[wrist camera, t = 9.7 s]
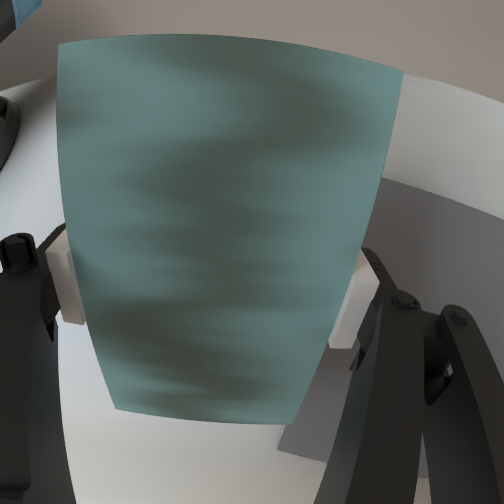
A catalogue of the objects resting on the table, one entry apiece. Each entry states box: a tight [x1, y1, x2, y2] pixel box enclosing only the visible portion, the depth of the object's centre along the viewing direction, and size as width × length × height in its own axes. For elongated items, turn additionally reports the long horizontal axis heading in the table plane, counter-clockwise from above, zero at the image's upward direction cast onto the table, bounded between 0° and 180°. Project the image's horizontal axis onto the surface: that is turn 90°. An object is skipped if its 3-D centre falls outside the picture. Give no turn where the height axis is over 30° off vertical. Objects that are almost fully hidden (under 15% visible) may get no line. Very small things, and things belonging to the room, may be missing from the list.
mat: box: [277, 178, 504, 478], centre depth 19 cm, size 16×20×1 cm
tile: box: [56, 34, 403, 424], centre depth 10 cm, size 8×3×14 cm
